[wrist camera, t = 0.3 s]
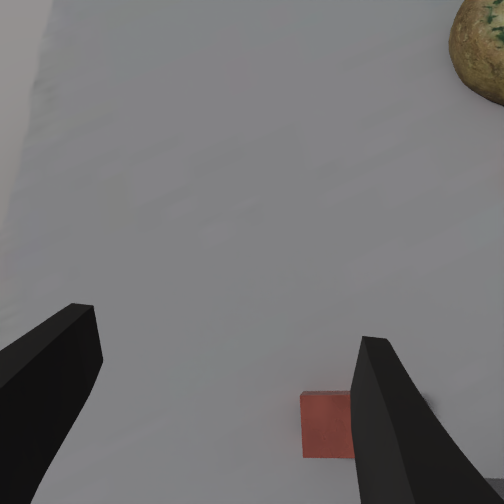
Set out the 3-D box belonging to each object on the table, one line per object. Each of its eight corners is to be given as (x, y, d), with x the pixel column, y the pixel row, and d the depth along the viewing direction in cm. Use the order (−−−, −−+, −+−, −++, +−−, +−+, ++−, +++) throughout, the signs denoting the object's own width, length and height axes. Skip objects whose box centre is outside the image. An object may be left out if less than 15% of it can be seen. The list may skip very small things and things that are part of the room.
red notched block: (390, 447, 37) (397, 458, 33) (306, 447, 38) (303, 457, 34) (385, 390, 38) (390, 394, 34) (303, 391, 39) (299, 395, 36)
